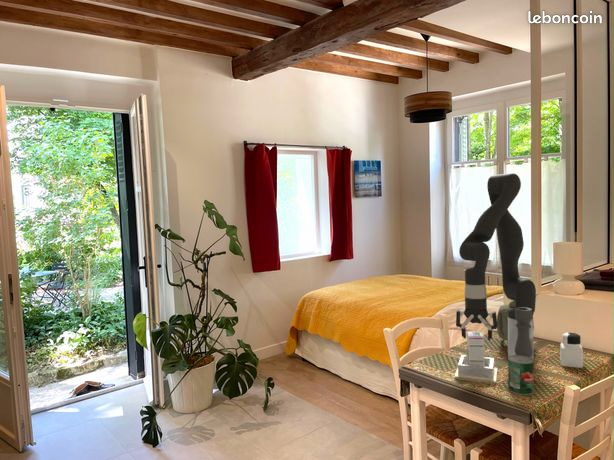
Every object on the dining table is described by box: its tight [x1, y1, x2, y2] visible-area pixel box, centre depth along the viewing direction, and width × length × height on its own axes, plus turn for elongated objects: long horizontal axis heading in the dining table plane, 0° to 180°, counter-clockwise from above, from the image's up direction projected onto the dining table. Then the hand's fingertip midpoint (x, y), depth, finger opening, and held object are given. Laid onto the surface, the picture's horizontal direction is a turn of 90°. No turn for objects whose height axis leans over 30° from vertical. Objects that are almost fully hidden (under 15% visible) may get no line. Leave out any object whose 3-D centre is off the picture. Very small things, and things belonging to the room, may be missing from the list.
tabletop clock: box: [496, 296, 535, 345], centre depth 200 cm, size 14×9×25 cm, turn 65°
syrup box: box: [466, 331, 486, 367], centre depth 172 cm, size 6×6×14 cm
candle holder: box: [514, 307, 534, 357], centre depth 168 cm, size 6×6×25 cm
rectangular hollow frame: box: [454, 354, 499, 385], centre depth 172 cm, size 14×14×5 cm
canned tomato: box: [507, 355, 535, 396], centre depth 156 cm, size 8×8×11 cm
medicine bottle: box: [559, 332, 584, 369], centre depth 179 cm, size 7×7×12 cm
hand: (476, 338), depth 171 cm, fingers open, 8 cm apart
